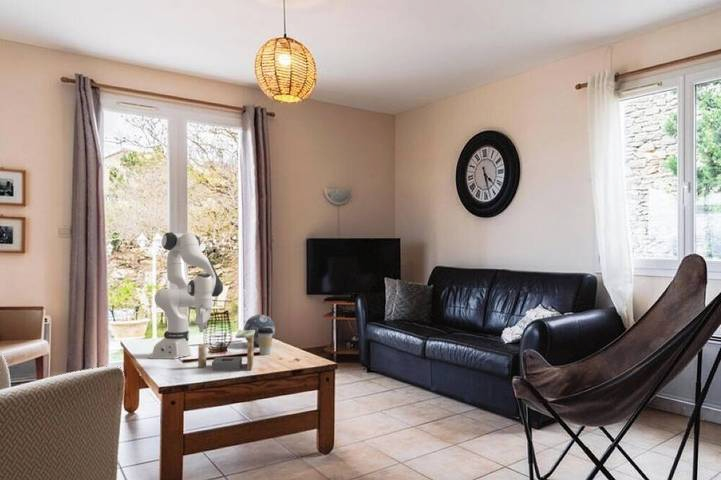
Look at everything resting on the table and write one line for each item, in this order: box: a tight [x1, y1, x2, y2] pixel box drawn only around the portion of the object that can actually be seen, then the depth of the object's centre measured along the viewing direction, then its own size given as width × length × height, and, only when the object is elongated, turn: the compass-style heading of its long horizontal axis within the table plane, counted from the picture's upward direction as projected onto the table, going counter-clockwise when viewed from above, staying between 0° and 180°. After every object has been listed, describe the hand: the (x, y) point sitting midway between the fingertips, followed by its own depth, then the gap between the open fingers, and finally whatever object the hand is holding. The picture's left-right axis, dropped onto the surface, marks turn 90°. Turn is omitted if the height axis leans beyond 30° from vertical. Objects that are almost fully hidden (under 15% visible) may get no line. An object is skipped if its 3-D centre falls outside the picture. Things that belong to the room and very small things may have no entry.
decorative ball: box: [243, 314, 276, 347], centre depth 315 cm, size 20×20×20 cm
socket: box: [211, 356, 243, 371], centre depth 259 cm, size 14×12×4 cm
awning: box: [235, 329, 255, 371], centre depth 260 cm, size 8×16×18 cm, turn 8°
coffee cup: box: [257, 328, 273, 356], centre depth 291 cm, size 9×9×15 cm
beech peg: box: [197, 343, 207, 369], centre depth 258 cm, size 4×4×12 cm
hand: (203, 330), depth 258 cm, fingers open, 8 cm apart
